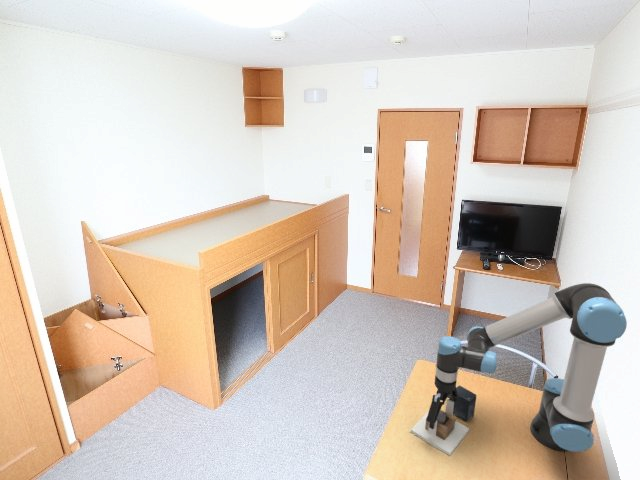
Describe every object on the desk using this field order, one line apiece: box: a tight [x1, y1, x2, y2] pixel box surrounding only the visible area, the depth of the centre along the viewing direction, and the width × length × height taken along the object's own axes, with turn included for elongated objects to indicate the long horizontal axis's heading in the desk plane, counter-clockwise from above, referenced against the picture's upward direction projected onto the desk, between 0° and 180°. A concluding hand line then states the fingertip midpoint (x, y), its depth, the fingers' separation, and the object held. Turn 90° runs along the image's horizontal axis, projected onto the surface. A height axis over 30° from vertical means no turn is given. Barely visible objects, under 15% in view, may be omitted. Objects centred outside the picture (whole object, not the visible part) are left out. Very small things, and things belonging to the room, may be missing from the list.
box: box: [453, 385, 478, 423], centre depth 156 cm, size 8×6×11 cm
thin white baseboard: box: [410, 410, 470, 457], centre depth 148 cm, size 16×16×8 cm
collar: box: [425, 410, 456, 440], centre depth 148 cm, size 8×8×5 cm
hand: (440, 423), depth 148 cm, fingers open, 13 cm apart
